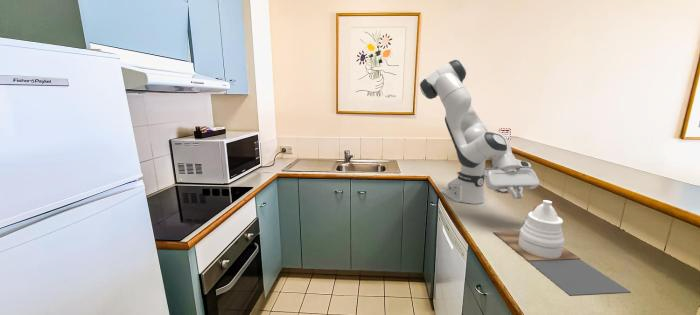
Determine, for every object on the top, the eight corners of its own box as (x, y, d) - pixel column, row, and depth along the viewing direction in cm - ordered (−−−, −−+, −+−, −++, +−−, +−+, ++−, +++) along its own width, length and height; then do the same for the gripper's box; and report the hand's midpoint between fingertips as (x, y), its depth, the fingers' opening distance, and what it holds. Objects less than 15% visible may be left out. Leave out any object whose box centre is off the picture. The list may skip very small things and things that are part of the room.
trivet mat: (528, 262, 92) (528, 261, 92) (580, 259, 94) (580, 259, 94) (569, 295, 77) (569, 295, 77) (630, 292, 78) (630, 291, 78)
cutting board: (493, 233, 112) (493, 231, 112) (536, 231, 113) (536, 230, 113) (528, 262, 92) (528, 260, 92) (580, 259, 94) (580, 258, 94)
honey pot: (563, 262, 91) (573, 210, 87) (517, 250, 98) (524, 201, 94) (560, 245, 101) (569, 197, 98) (519, 235, 108) (525, 191, 104)
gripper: (485, 163, 114) (496, 195, 106) (534, 163, 115) (548, 194, 107) (478, 171, 119) (488, 202, 111) (525, 170, 120) (538, 201, 113)
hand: (518, 198), depth 109 cm, fingers closed
